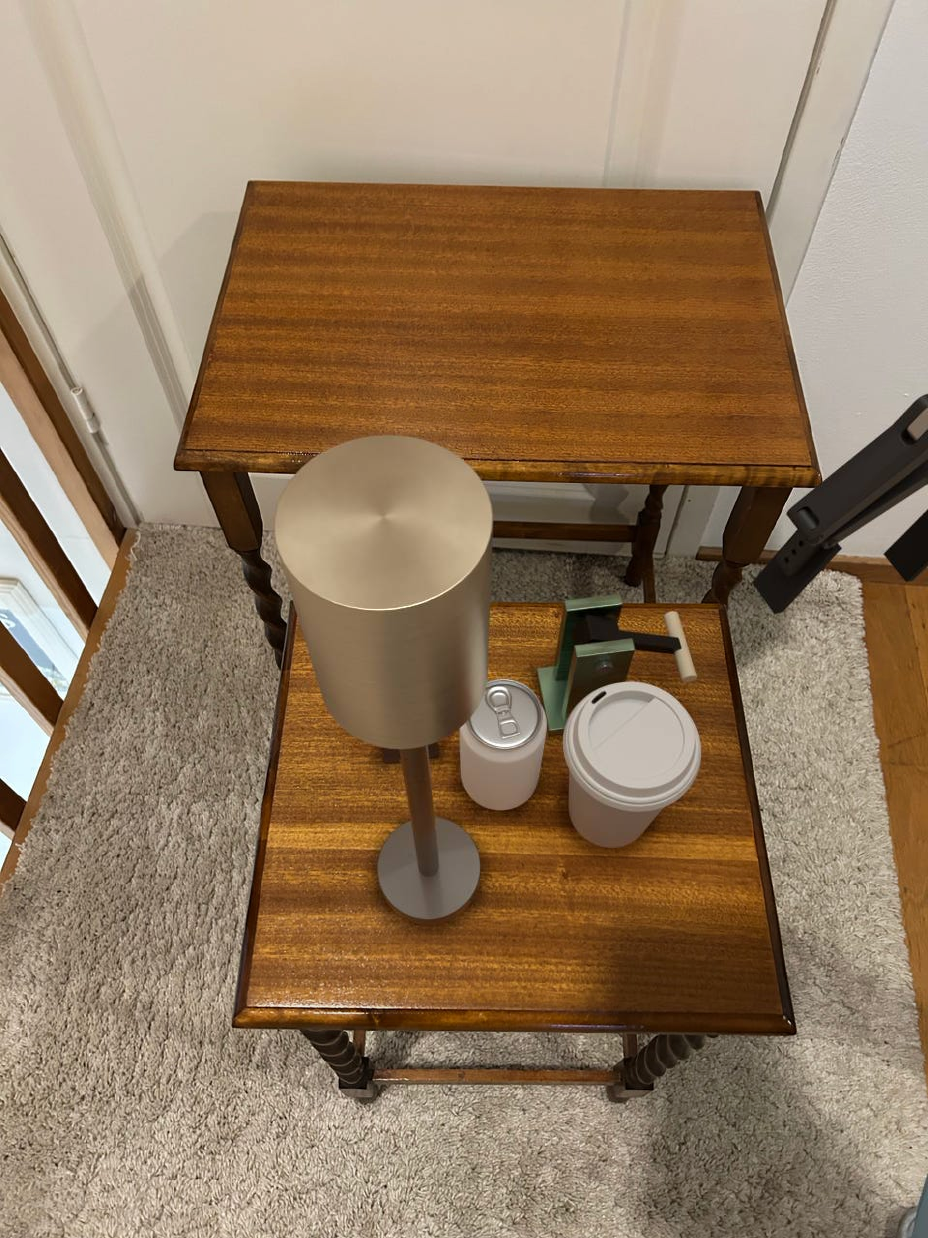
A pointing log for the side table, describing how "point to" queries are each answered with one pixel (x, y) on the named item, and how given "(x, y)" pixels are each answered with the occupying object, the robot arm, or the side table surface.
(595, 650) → the bracket
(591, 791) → the coffee cup
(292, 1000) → the side table surface
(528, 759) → the can
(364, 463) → the lamp
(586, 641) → the lever
